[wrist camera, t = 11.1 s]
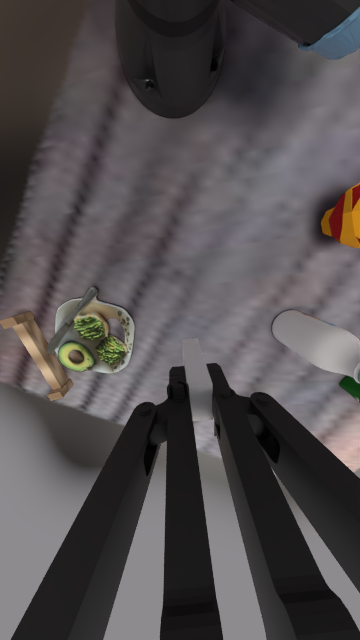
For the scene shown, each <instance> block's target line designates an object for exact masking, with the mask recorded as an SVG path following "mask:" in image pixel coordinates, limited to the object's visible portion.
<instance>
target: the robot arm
mask: <svg viewBox="0 0 360 640" xmlns="http://www.w3.org/2000/svg"><path fill="white" fill-rule="evenodd" d="M231 1H232V2H233V3H234V4H236V5H238V6H239V7H241V8H242V9H244V10H245V11H247V12H249V13H250V14H252V15H253V16H255V17H257V18H258V19H260V20H261V21H263V22H265V23H266V24H268V25H269V26H271V27H272V28H274V29H276V30H277V31H279V32H280V33H282V34H284V35H285V36H287V37H288V38H290V39H291V40H293V41H295V42H296V43H298V47H299V48H300V49H301V50H303V51H309V50H312V51H314V52H316V53H318V54H320V55H322V56H324V57H326V58H328V59H332V60H336V59H340V58H342V57H344V56H346V55H348V54H351V53H353V52H355V51H356V50H358V49H359V48H360V0H231ZM115 28H116V38H117V44H118V49H119V53H120V58H121V62H122V66H123V69H124V73H125V75H126V78H127V80H128V83H129V85H130V87H131V88H132V90H133V92H134V93H135V95H136V96H137V97H138V99H139V100H140V101H141V102H142V103H143V104H144V105H145V106H146V107H147V108H148V109H150V110H151V111H153V112H154V113H156V114H159V115H161V116H164V117H170V118H178V117H183V116H186V115H189V114H191V113H193V112H194V111H196V110H197V109H198V108H200V107H201V106H202V105H203V104H204V103H205V101H206V100H207V99H208V97H209V96H210V94H211V93H212V91H213V89H214V87H215V84H216V82H217V79H218V76H219V72H220V68H221V64H222V60H223V56H224V51H225V44H226V0H116V4H115ZM182 350H183V365H184V366H180V367H172V368H171V370H170V372H169V384H168V386H167V394H168V398H167V400H166V401H164V402H163V403H161V404H159V405H156V406H155V405H154V404H153V403H151V402H144V403H141V404H139V405H138V406H137V407H136V408H135V409H134V411H133V413H132V414H131V416H130V418H129V420H128V422H127V424H126V426H125V427H124V429H123V431H122V433H121V435H120V437H119V439H118V441H117V442H116V444H115V446H114V448H113V450H112V452H111V454H110V456H109V457H108V459H107V461H106V463H105V465H104V467H103V468H102V470H101V472H100V474H99V476H98V478H97V480H96V482H95V483H94V485H93V487H92V489H91V491H90V493H89V495H88V497H87V498H86V500H85V502H84V504H83V506H82V508H81V510H80V511H79V513H78V515H77V517H76V519H75V521H74V523H73V525H72V526H71V528H70V530H69V532H68V534H67V536H66V538H65V539H64V541H63V543H62V545H61V547H60V549H59V551H58V552H57V554H56V556H55V558H54V560H53V562H52V564H51V565H50V567H49V569H48V571H47V573H46V575H45V577H44V578H43V581H42V582H41V584H40V586H39V588H38V590H37V592H36V593H35V595H34V597H33V599H32V601H31V603H30V605H29V607H28V608H27V610H26V612H25V614H24V616H23V618H22V620H21V622H20V623H19V625H18V627H17V629H16V631H15V633H14V635H13V636H12V638H11V640H103V638H104V635H105V631H106V628H107V625H108V621H109V617H110V615H111V611H112V608H113V604H114V601H115V597H116V594H117V591H118V588H119V584H120V581H121V577H122V574H123V570H124V567H125V563H126V560H127V556H128V554H129V550H130V547H131V544H132V540H133V537H134V533H135V530H136V527H137V523H138V520H139V516H140V513H141V510H142V506H143V503H144V500H145V496H146V493H147V489H148V486H149V483H150V479H151V476H152V473H153V469H154V466H155V462H156V459H157V455H158V452H159V449H160V446H161V443H163V442H165V441H167V465H166V509H165V553H164V555H165V556H164V594H163V609H162V616H161V628H160V640H223V635H222V628H221V622H220V615H219V610H218V604H217V599H216V593H215V586H214V578H213V570H212V564H211V556H210V548H209V540H208V533H207V525H206V518H205V511H204V502H203V495H202V488H201V480H200V472H199V465H198V457H197V450H196V442H195V434H194V427H193V421H200V420H211V419H213V417H214V436H216V435H217V439H218V443H219V447H220V451H221V455H222V459H223V463H224V466H225V471H226V475H227V478H228V483H229V487H230V491H231V494H232V499H233V502H234V507H235V511H236V515H237V519H238V523H239V527H240V530H241V535H242V539H243V543H244V546H245V550H246V555H247V559H248V563H249V566H250V570H251V575H252V578H253V582H254V586H255V590H256V594H257V598H258V603H259V606H260V610H261V614H262V618H263V623H264V627H265V632H266V638H267V640H360V631H359V629H358V628H357V626H356V624H355V622H354V620H353V618H352V617H351V615H350V613H349V611H348V610H347V608H346V607H345V605H344V604H343V602H342V601H341V599H340V598H339V597H338V596H337V595H336V594H335V593H334V592H333V591H332V590H331V589H330V588H329V587H328V585H327V584H326V582H325V580H324V578H323V576H322V575H321V572H320V570H319V568H318V566H317V564H316V562H315V560H314V558H313V556H312V554H311V551H310V549H309V547H308V545H307V543H306V541H305V539H304V536H303V534H302V532H301V530H300V528H299V526H298V524H297V522H296V520H295V517H294V515H293V513H292V511H291V509H290V507H289V505H288V503H287V501H286V498H285V496H284V494H283V492H282V490H281V488H280V486H279V484H278V481H277V479H276V477H275V475H274V473H273V471H274V472H275V473H276V475H277V476H278V478H279V479H280V480H281V482H282V483H283V485H284V486H285V488H286V489H287V490H288V492H289V493H290V495H291V496H292V497H293V499H294V500H295V502H296V503H297V505H298V506H299V507H300V509H301V510H302V512H303V513H304V514H305V516H306V517H307V519H308V520H309V522H310V523H311V524H312V526H313V527H314V528H315V530H316V532H317V533H318V534H319V536H320V537H321V539H322V540H323V542H324V543H325V544H326V546H327V547H328V549H329V550H330V551H331V553H332V554H333V556H334V557H335V559H336V560H337V561H338V563H339V564H340V566H341V567H342V568H343V570H344V571H345V573H346V574H347V576H348V577H349V578H350V580H351V581H352V583H353V584H354V586H355V587H356V588H357V590H358V591H359V593H360V478H359V477H357V476H356V475H355V474H354V473H353V472H352V471H351V470H350V469H349V468H348V467H347V466H346V465H345V464H343V463H342V462H341V461H340V460H339V459H338V458H337V457H336V456H335V455H334V454H333V453H332V452H331V451H329V450H328V449H327V448H326V447H325V446H324V445H323V444H322V443H321V442H320V441H319V440H318V439H317V438H315V437H314V436H313V435H312V434H311V433H310V432H309V431H308V430H307V429H306V428H305V427H304V426H303V425H302V424H300V423H299V422H298V421H297V420H296V419H295V418H294V417H293V416H292V415H291V414H290V413H289V412H288V411H286V410H285V409H284V408H283V407H282V406H281V405H280V404H279V403H278V402H277V401H276V400H275V399H274V398H272V397H271V396H270V395H268V394H266V393H263V392H255V393H253V394H252V395H251V397H250V398H249V397H243V396H239V395H237V394H236V393H235V392H234V390H232V389H231V388H230V387H229V385H228V382H227V380H226V378H225V376H224V373H223V372H222V369H221V367H220V366H219V365H218V364H217V363H211V364H206V363H205V360H204V357H203V353H202V350H201V347H200V344H199V341H198V338H192V339H182ZM270 466H271V467H270ZM271 468H272V469H273V471H272V469H271Z"/></svg>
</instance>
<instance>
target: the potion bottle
mask: <svg viewBox="0 0 360 640" xmlns="http://www.w3.org/2000/svg"><path fill="white" fill-rule="evenodd" d="M321 227H322V231H323V233H324V234H326V235H329V236H331V237H332V236H333V237H334V238H335V239H336V241H338V240H340V241H341V242H340V241H338V242H339V243H341V244H344V245H348V246H350V247H354V248H360V184H358V185H356V186H354V187H352V188H350V189H349V190H347V191H346V193H344V194H343V195H342V196H341V197H340V199H339V201H338V202H337V204H336V206H335V207H334V208H332V209H330V210H328V211H326V213H325V215H324V217H323V219H322V221H321Z"/></svg>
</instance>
